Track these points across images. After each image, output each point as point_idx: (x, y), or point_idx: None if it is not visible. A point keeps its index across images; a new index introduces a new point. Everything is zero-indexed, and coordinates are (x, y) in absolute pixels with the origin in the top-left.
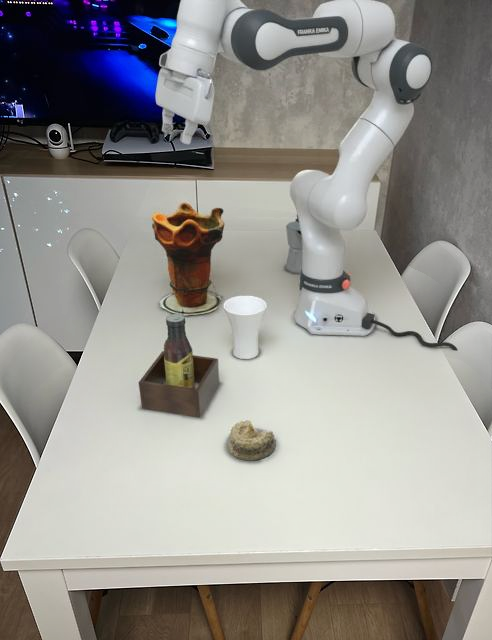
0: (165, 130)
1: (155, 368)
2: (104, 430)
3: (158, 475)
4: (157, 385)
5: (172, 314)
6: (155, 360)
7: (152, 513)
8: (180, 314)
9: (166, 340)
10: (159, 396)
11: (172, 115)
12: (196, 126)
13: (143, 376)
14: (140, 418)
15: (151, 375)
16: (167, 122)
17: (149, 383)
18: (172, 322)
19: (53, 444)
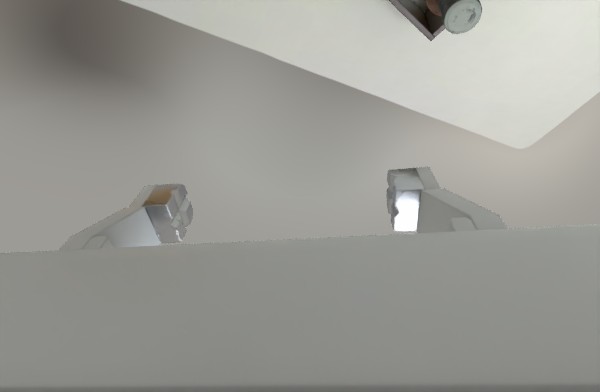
0: (188, 218)
1: (403, 4)
2: (433, 68)
3: (550, 35)
4: None
5: (448, 18)
6: (391, 2)
7: (590, 56)
8: (459, 3)
9: (439, 13)
10: None
11: (110, 247)
12: (503, 228)
13: (422, 31)
14: None
15: (413, 13)
16: (147, 234)
17: (443, 28)
18: (473, 26)
19: (420, 112)
